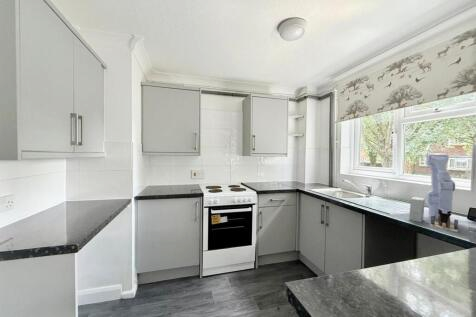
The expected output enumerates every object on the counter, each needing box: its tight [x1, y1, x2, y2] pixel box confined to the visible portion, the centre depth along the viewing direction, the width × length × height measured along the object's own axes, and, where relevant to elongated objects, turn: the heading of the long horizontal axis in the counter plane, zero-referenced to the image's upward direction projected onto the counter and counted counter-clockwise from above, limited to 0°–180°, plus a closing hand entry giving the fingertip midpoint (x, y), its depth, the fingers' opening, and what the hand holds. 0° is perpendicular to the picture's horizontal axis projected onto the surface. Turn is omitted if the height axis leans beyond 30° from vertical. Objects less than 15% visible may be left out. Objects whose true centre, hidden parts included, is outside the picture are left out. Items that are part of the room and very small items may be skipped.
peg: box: [438, 223, 449, 231], centre depth 116 cm, size 4×4×3 cm
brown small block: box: [437, 216, 451, 226], centre depth 123 cm, size 5×5×4 cm
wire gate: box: [430, 216, 459, 230], centre depth 120 cm, size 3×11×5 cm, turn 44°
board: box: [430, 220, 459, 233], centre depth 120 cm, size 15×11×1 cm
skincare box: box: [408, 196, 426, 223], centre depth 131 cm, size 8×6×15 cm
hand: (444, 222), depth 123 cm, fingers closed on brown small block, 5 cm apart
